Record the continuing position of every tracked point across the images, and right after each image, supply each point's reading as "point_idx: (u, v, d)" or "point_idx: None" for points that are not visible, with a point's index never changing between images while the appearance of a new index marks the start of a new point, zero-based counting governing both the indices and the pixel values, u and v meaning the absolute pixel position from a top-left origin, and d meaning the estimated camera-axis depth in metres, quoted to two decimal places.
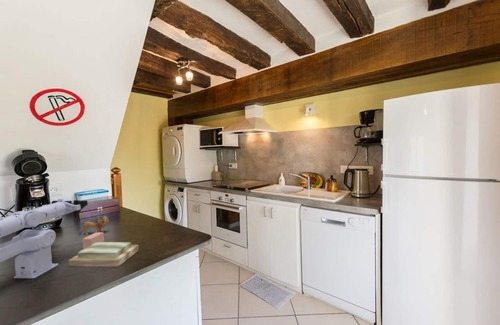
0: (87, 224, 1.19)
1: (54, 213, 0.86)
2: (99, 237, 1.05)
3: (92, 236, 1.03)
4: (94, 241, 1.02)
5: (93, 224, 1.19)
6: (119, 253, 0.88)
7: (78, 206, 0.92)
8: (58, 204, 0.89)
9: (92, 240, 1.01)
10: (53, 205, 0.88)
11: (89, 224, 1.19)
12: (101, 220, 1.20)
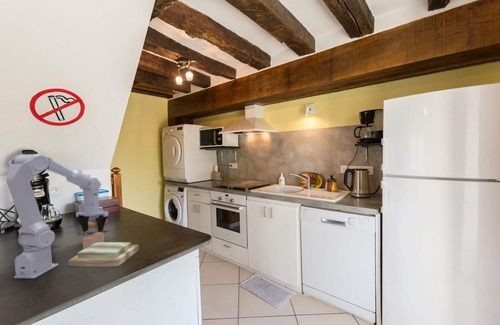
0: None
1: (95, 201, 1.02)
2: (99, 237, 1.05)
3: (92, 236, 1.03)
4: (94, 241, 1.02)
5: (92, 224, 1.19)
6: (119, 253, 0.88)
7: (107, 213, 1.04)
8: None
9: (92, 240, 1.01)
10: None
11: (88, 224, 1.19)
12: None
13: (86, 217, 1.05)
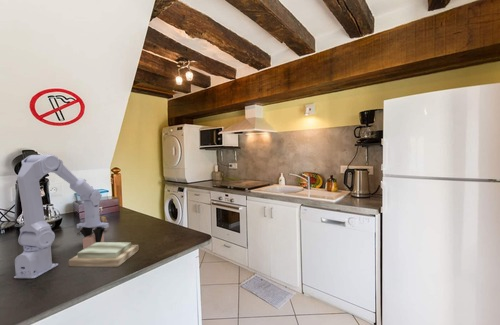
0: None
1: (95, 212, 1.03)
2: None
3: (92, 236, 1.03)
4: (94, 241, 1.02)
5: None
6: (119, 253, 0.88)
7: (108, 224, 1.04)
8: None
9: (92, 240, 1.01)
10: None
11: None
12: None
13: (90, 228, 1.05)
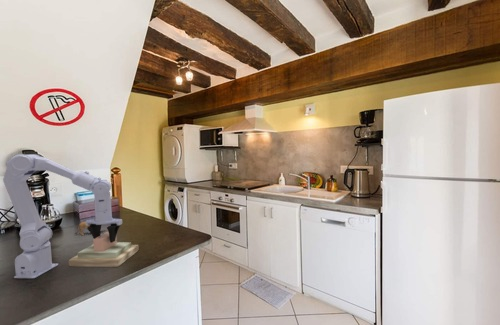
0: (83, 224, 1.19)
1: (100, 208, 0.88)
2: None
3: (104, 236, 0.90)
4: (106, 242, 0.89)
5: None
6: (119, 253, 0.88)
7: (121, 221, 0.91)
8: None
9: (104, 241, 0.88)
10: None
11: (85, 224, 1.19)
12: None
13: (98, 226, 0.92)
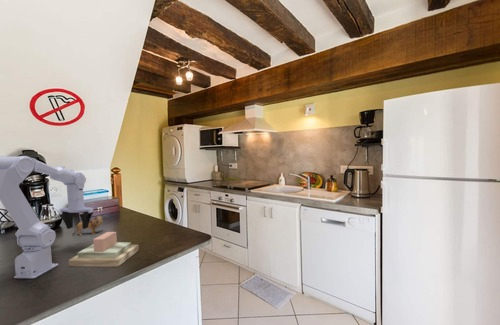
0: (81, 224, 1.19)
1: (80, 196, 0.99)
2: (111, 237, 0.92)
3: (104, 236, 0.90)
4: (106, 242, 0.89)
5: None
6: (119, 253, 0.88)
7: (92, 209, 1.00)
8: None
9: (104, 241, 0.88)
10: None
11: None
12: (95, 220, 1.20)
13: (70, 213, 1.01)
